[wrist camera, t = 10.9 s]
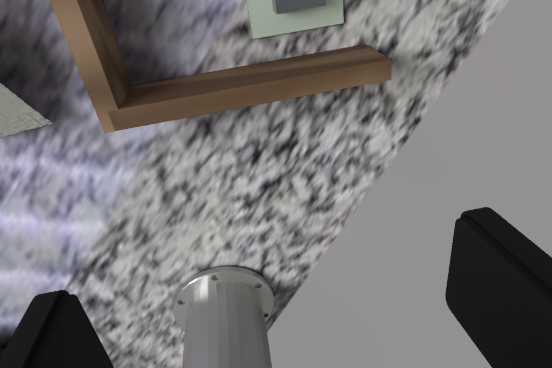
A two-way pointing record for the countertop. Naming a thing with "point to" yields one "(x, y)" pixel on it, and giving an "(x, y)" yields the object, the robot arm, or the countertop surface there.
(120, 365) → the countertop surface
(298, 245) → the countertop surface
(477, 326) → the robot arm
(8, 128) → the grey angled piece
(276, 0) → the metal block
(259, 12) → the pad
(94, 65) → the wall
